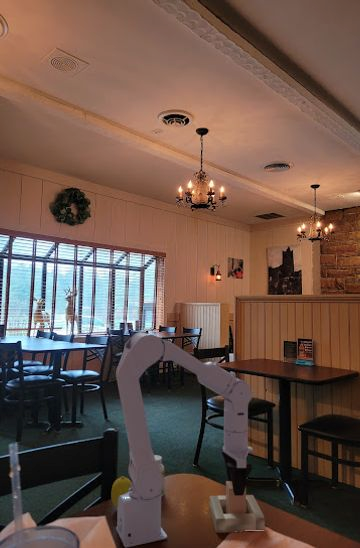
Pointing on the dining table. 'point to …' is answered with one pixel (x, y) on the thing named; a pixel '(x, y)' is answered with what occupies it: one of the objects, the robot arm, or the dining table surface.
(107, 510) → the dining table surface
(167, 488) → the dining table surface
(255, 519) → the collar
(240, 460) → the robot arm
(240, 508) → the peg
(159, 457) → the supplement bottle
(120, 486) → the lemon
